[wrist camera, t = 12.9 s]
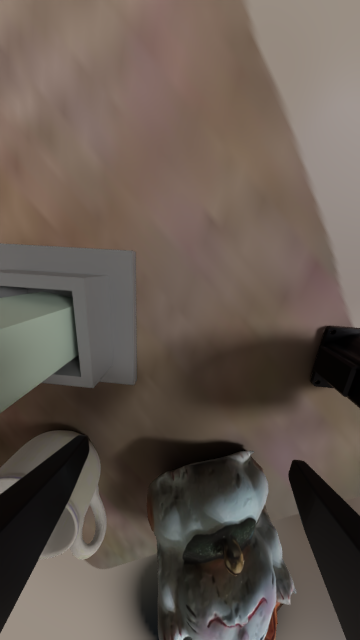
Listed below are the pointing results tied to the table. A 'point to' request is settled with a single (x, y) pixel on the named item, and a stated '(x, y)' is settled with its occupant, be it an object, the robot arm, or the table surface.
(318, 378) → the robot arm
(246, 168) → the table surface
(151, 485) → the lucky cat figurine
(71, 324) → the sage block
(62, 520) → the teacup
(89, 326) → the grey square socket base
